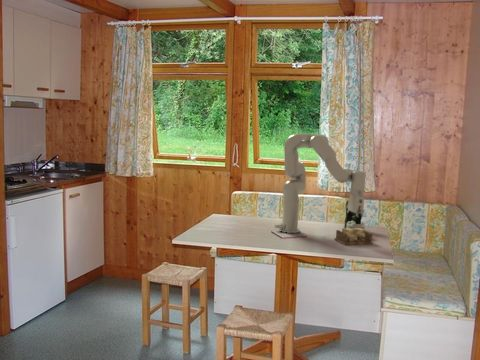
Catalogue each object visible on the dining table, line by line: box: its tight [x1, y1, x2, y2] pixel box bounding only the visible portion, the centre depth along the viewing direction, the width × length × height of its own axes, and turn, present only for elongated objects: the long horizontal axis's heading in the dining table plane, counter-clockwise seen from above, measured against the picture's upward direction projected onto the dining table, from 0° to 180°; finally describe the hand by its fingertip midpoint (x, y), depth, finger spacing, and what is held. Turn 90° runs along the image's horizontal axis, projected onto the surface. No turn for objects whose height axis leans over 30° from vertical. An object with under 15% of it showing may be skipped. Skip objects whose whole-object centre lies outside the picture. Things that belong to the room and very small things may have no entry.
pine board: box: [341, 227, 366, 238], centre depth 285 cm, size 12×5×4 cm, turn 107°
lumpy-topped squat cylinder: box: [346, 221, 366, 238], centre depth 302 cm, size 10×13×9 cm
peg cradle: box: [334, 229, 374, 246], centre depth 285 cm, size 18×12×6 cm, turn 108°
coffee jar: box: [343, 200, 359, 228], centre depth 318 cm, size 10×8×19 cm
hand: (353, 222), depth 284 cm, fingers open, 9 cm apart
